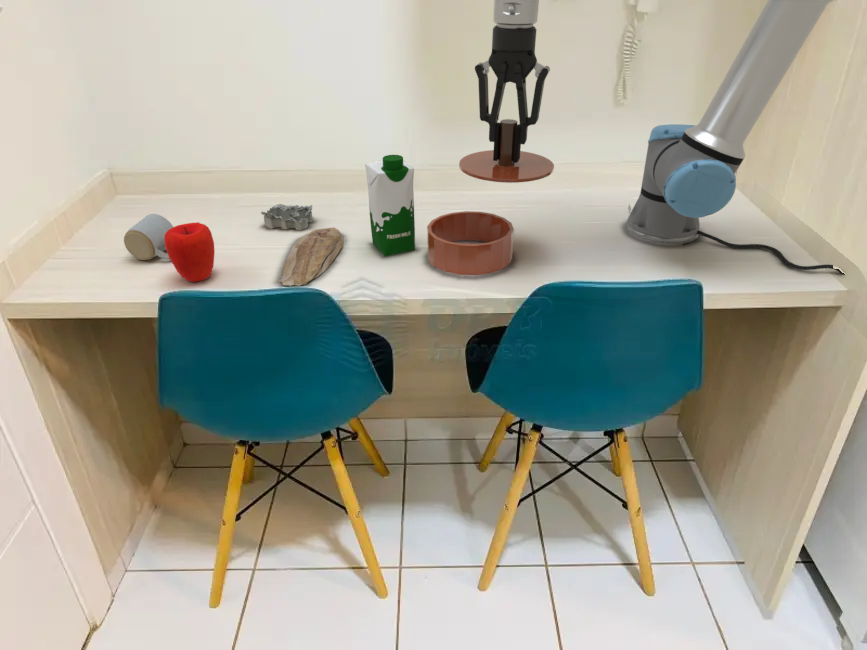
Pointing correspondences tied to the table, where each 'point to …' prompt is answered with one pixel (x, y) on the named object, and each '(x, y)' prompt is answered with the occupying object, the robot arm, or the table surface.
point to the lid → (506, 161)
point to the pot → (470, 255)
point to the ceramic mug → (148, 237)
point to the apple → (191, 250)
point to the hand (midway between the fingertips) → (506, 159)
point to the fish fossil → (311, 256)
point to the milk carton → (391, 204)
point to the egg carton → (288, 217)
